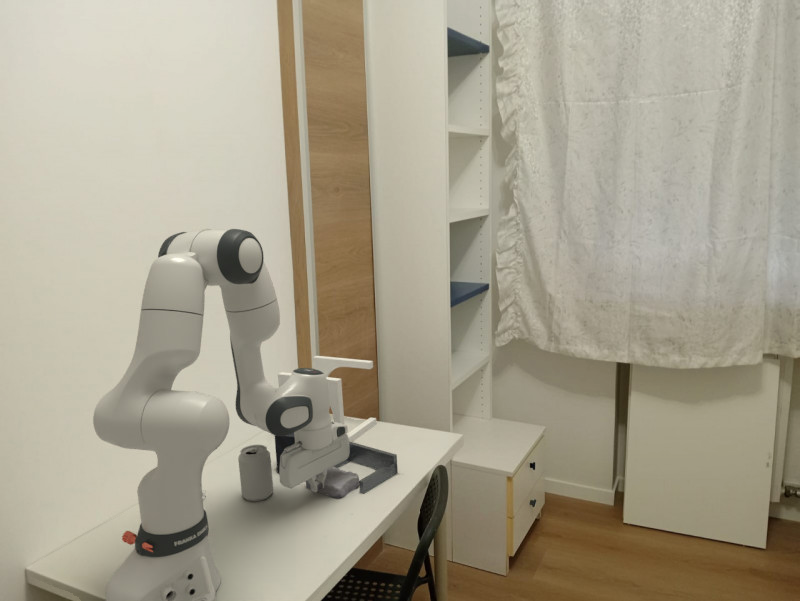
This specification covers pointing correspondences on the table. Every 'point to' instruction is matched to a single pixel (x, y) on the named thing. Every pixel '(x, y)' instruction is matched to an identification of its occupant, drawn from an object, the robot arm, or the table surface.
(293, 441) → the small box
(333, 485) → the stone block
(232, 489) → the table surface
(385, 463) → the grey u-shaped bracket
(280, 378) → the white open frame
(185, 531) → the robot arm
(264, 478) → the can
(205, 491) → the adhesive hook
